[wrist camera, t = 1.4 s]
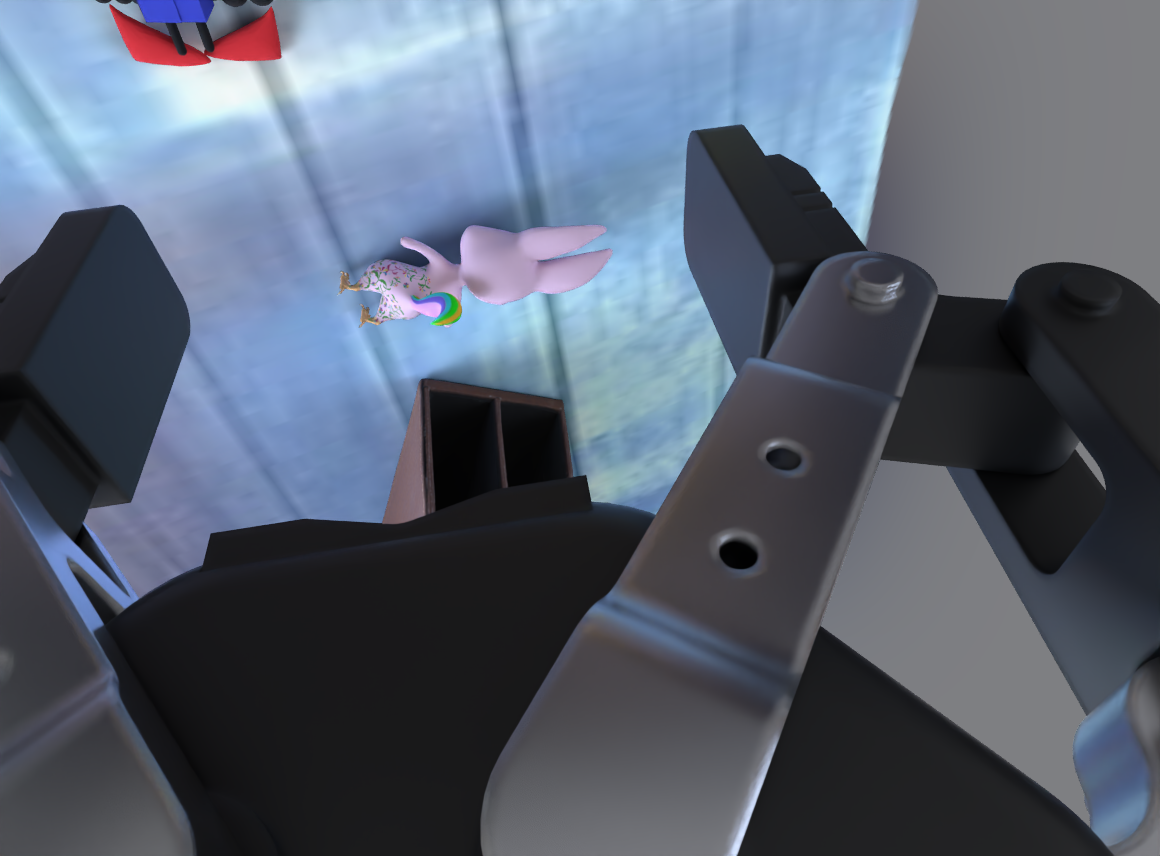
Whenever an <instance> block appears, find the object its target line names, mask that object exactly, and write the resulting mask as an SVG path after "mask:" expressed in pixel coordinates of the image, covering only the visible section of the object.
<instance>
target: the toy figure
mask: <svg viewBox="0 0 1160 856" xmlns="http://www.w3.org/2000/svg"><path fill="white" fill-rule="evenodd" d="M96 1H98V2H100V3H108V2H110V1H111V0H96ZM116 1H118V2H119V3H122V4H128V3H131V2H132V1H133V2H135V3H137V4H139V7H140V9H141V11H142V14H143V16H144V18H145V20H146V22H160V23H166V26H167V28H168V31H169V33H170V35H171V36H168V35H166V34H164V33H162V32H160V31H158V30H155V29H153V28H151V27H149V26H147V25H145V24H143V23H141V22H139V21H137V20H135V19H133V18H131V17H129V16H127V15H125V14H123V13H122V12H120V11H119V10H117V9H116V8H115V7H113V6H112V5H110V4H109V5H110V9H111V12H112V14H113V17H114V19H115V22H116V24H117V26H118V29H119V31H120V33H121V35H122V38H123V40H124V42H125V44H126V46H127V48H128V50H129V51H130V53H131V55H132V56H133V58H134V59H135V60H136V61H140V62H146V63H152V64H162V65H173V66H195V65H203V64H207V63H210V62H211V60H210V59H209V58H208V57H207V56H206V55H208V56H211V57H214V58H220V59H226V60H235V61H261V60H275V59H280V58H281V49H280V41H279V35H278V30H277V25H276V20H275V16H274V12H273V9H272V6H271V7H270V9H269V10H268V11H267V12H266V13H265V14H264V15H263V16H262V17H260V18H258V19H256V20H255V21H253V22H251V23H249V24H247V25H245V26H244V27H242V28H240V29H238V30H236V31H234V32H232V33H229V34H227V35H225V36H223V37H221V38H219V39H217V40H216V41H214V42H213V41H212V38H211V36H210V33H209V30H208V28H207V25H206V22H207V21H208V18H209V16H210V14H211V12H212V9H213V7H214V3H213V1H215V0H116ZM223 1H224V2H225V3H226V4H228V5H230V6H233V7H238V6H242V5H243V4H244V3H245V2H246V0H223ZM251 1H252V2H253V3H255V4H257V5H260V6H266V5H269V4H270V3H271V2H272V1H273V0H251ZM182 22H195V23H196V26H197V28H198V31H199V34H200V36H201V39H202V42H203V44H204V47H205V51H204V53H202V52H201V51H199V50H198V49H196V48H194V47H192V46H190V45H188V44H185V43H184V42H183V40H182V37H181V35H180V32H179V30H178V27H177V25H176V23H182Z"/></svg>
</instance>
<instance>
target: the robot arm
mask: <svg viewBox="0 0 1160 856" xmlns="http://www.w3.org/2000/svg"><path fill="white" fill-rule="evenodd" d="M820 189H821V188H820V187H819V185H818V184H817V183H816V181H815V180H814V179H813V177H812V176H811V175H810V173H809V172H808V171H807V169H805V168H804V167H802V166H800V165H798V164H797V163H795V162H793V161H791V160H789V159H788V158H786V157H784V156H782V155H781V154H776V155H769V156H765V155H764V153H763V152H762V150H761V149H760V148H759V146H758V145H757V143H756V142H755V140H754V139H753V137H752V136H751V135H750V133H749V132H748V130H747V129H746V127H745V126H744V125H742V124H741V125H733V126H725V127H718V128H710V129H703V130H695V131H692V132H691V133H690V135H689V138H688V144H687V159H686V183H685V207H684V244H685V252H686V257H687V261H688V265H689V268H690V270H691V272H692V275H693V277H694V279H695V281H696V284H697V286H698V288H699V291H700V293H701V295H702V297H703V300H704V302H705V304H706V307H707V309H708V311H709V313H710V316H711V318H712V320H713V322H714V325H715V327H716V329H717V332H718V334H719V336H720V338H721V341H722V343H723V345H724V348H725V350H726V352H727V354H728V357H729V359H730V361H731V363H732V366H733V368H734V370H735V373H736V375H737V376H736V378H735V380H734V381H733V383H732V385H731V387H730V388H729V390H728V392H727V394H726V395H725V397H724V399H723V400H722V402H721V404H720V406H719V407H718V409H717V411H716V412H715V414H714V416H713V418H712V419H711V421H710V423H709V425H708V426H707V428H706V430H705V431H704V433H703V435H702V437H701V438H700V440H699V442H698V443H697V445H696V447H695V449H694V450H693V452H692V454H691V456H690V457H689V459H688V461H687V462H686V464H685V466H684V468H683V469H682V471H681V473H680V474H679V476H678V478H677V480H676V481H675V483H674V485H673V487H672V488H671V490H670V492H669V493H668V495H667V497H666V499H665V500H664V502H663V504H662V505H661V507H660V509H659V511H658V512H657V514H656V515H655V514H652V513H650V512H646V511H643V510H639V509H636V508H632V507H628V506H622V505H617V504H611V503H601V502H591V497H590V492H589V487H588V482H587V477H586V475H584V476H577V477H571V478H565V479H558V480H552V481H545V482H539V483H532V484H526V485H520V486H513V487H507V488H500V489H495V490H492V491H490V492H487V493H484V494H481V495H479V496H476V497H473V498H471V499H468V500H465V501H463V502H460V503H457V504H454V505H452V506H449V507H446V508H444V509H441V510H438V511H435V512H433V513H430V514H427V515H425V516H422V517H419V518H417V519H414V520H411V521H408V522H405V523H399V524H383V523H366V522H349V521H332V520H315V519H301V520H294V521H288V522H282V523H275V524H269V525H262V526H256V527H249V528H243V529H237V530H230V531H224V532H217V533H211V535H210V539H209V543H208V547H207V551H206V555H205V559H204V563H203V565H202V566H199V567H197V568H194V569H192V570H190V571H187V572H185V573H183V574H181V575H179V576H177V577H175V578H173V579H171V580H169V581H167V582H165V583H164V584H162V585H160V586H159V587H157V588H155V589H153V590H152V591H150V592H148V593H147V594H145V595H144V596H143V597H141V598H140V599H139V598H138V596H137V595H136V593H135V592H134V590H133V589H132V587H131V586H130V584H129V583H128V581H127V580H126V578H125V577H124V575H123V574H122V572H121V571H120V569H119V568H118V566H117V565H116V563H115V562H114V560H113V559H112V557H111V556H110V555H109V553H108V552H107V550H106V549H105V547H104V546H103V544H102V543H101V541H100V540H99V538H98V537H97V535H96V534H95V533H94V532H93V531H92V530H91V529H90V528H89V527H88V526H87V525H86V524H85V523H84V519H85V517H86V514H87V512H88V509H91V508H97V507H104V506H110V505H117V504H123V503H130V502H131V501H132V498H133V495H134V492H135V490H136V487H137V484H138V481H139V478H140V475H141V473H142V470H143V467H144V464H145V461H146V458H147V456H148V453H149V450H150V447H151V444H152V441H153V438H154V436H155V433H156V430H157V427H158V424H159V421H160V419H161V416H162V413H163V410H164V407H165V404H166V402H167V399H168V396H169V393H170V390H171V387H172V385H173V382H174V379H175V376H176V373H177V370H178V368H179V365H180V362H181V359H182V356H183V353H184V351H185V348H186V345H187V342H188V339H189V336H190V319H189V313H188V309H187V306H186V303H185V301H184V298H183V296H182V294H181V292H180V291H179V289H178V287H177V285H176V283H175V282H174V280H173V278H172V276H171V275H170V273H169V271H168V269H167V268H166V266H165V264H164V262H163V260H162V259H161V257H160V255H159V253H158V252H157V250H156V248H155V246H154V244H153V243H152V241H151V239H150V237H149V236H148V234H147V232H146V230H145V229H144V227H143V225H142V223H141V222H140V220H139V218H138V217H137V216H136V215H135V213H134V212H133V211H132V210H131V209H129V208H128V207H126V206H124V205H116V206H108V207H101V208H93V209H86V210H78V211H70V212H65V213H63V214H62V215H61V216H60V217H59V219H58V220H57V222H56V223H55V225H54V226H53V228H52V229H51V231H50V232H49V234H48V235H47V237H46V238H45V240H44V241H43V243H42V244H41V246H40V247H39V249H38V250H37V252H36V253H35V254H34V255H32V256H31V257H30V258H28V259H27V260H26V261H25V262H23V263H22V264H21V265H20V266H18V267H17V268H16V269H14V270H13V271H12V272H11V273H9V274H8V275H7V276H6V277H5V278H4V280H3V281H2V283H1V284H0V856H1160V304H1159V303H1158V302H1157V301H1156V300H1154V298H1152V297H1151V296H1150V295H1149V294H1148V293H1147V292H1146V291H1145V290H1143V288H1141V287H1140V286H1139V285H1137V284H1136V283H1134V282H1133V281H1131V280H1129V279H1127V278H1125V277H1123V276H1121V275H1119V274H1117V273H1114V272H1112V271H1109V270H1106V269H1103V268H1099V267H1095V266H1091V265H1086V264H1079V263H1069V262H1058V263H1057V262H1056V263H1047V264H1041V265H1038V266H1034V267H1032V268H1030V269H1028V270H1026V271H1024V272H1023V273H1022V274H1021V275H1020V276H1019V277H1018V279H1017V280H1016V283H1015V285H1014V287H1013V289H1012V292H1011V294H1010V296H1009V298H1008V300H1000V299H984V298H970V297H953V296H945V295H939V294H938V289H937V286H936V283H935V281H934V280H933V279H932V277H931V276H930V275H929V274H928V273H927V272H926V271H925V270H924V269H922V268H921V267H919V266H918V265H916V264H914V263H912V262H910V261H908V260H906V259H903V258H901V257H898V256H894V255H890V254H886V253H880V252H870V251H868V250H867V249H866V247H865V246H864V245H863V243H862V242H861V241H860V239H859V238H858V237H857V235H856V234H855V233H854V231H853V230H852V229H851V227H850V226H849V225H848V223H847V222H846V221H845V220H844V218H843V217H842V216H841V214H840V213H839V212H838V210H837V209H836V208H832V202H831V201H830V200H829V198H828V197H827V196H826V194H825V193H824V192H821V191H820ZM1079 441H1081V443H1082V444H1083V445H1084V447H1085V448H1086V449H1087V450H1088V452H1089V453H1090V455H1091V456H1092V457H1093V458H1094V460H1095V461H1096V463H1097V464H1098V466H1099V467H1100V469H1101V472H1102V474H1103V477H1104V479H1105V485H1106V490H1105V489H1104V487H1103V486H1102V485H1101V483H1100V482H1099V481H1098V480H1097V478H1096V477H1095V475H1094V474H1093V473H1092V471H1091V470H1090V469H1089V467H1088V466H1087V464H1086V463H1085V462H1084V460H1083V459H1082V458H1081V457H1080V455H1079V454H1078V452H1077V451H1076V450H1075V448H1076V446H1077V445H1078V443H1079ZM880 459H882V460H890V461H900V462H909V463H919V464H928V465H938V466H946V468H947V470H948V471H949V473H950V475H951V477H952V478H953V480H954V482H955V484H956V486H957V487H958V489H959V491H960V493H961V494H962V496H963V498H964V500H965V501H966V503H967V505H968V507H969V508H970V510H971V512H972V514H973V515H974V517H975V519H976V521H977V523H978V524H979V526H980V528H981V530H982V532H983V533H984V535H985V537H986V539H987V540H988V542H989V544H990V546H991V547H992V549H993V551H994V553H995V554H996V556H997V558H998V560H999V562H1000V563H1001V565H1002V567H1003V569H1004V570H1005V572H1006V574H1007V576H1008V578H1009V579H1010V581H1011V583H1012V585H1013V586H1014V588H1015V590H1016V592H1017V594H1018V595H1019V597H1020V599H1021V601H1022V602H1023V604H1024V606H1025V608H1026V609H1027V611H1028V613H1029V615H1030V616H1031V618H1032V620H1033V622H1034V624H1035V625H1036V627H1037V629H1038V631H1039V632H1040V634H1041V636H1042V638H1043V640H1044V641H1045V643H1046V644H1047V647H1048V648H1049V650H1050V652H1051V653H1052V655H1053V657H1054V659H1055V661H1056V663H1057V664H1058V666H1059V668H1060V670H1061V671H1062V673H1063V675H1064V677H1065V678H1066V680H1067V682H1068V684H1069V685H1070V687H1071V689H1072V691H1073V692H1074V694H1075V696H1076V698H1077V700H1078V701H1079V703H1080V705H1081V707H1082V709H1083V710H1084V712H1085V714H1086V717H1085V719H1084V720H1083V721H1082V722H1081V724H1080V725H1079V727H1078V729H1077V731H1076V734H1075V737H1074V742H1073V760H1074V765H1075V770H1076V773H1077V776H1078V778H1079V781H1080V784H1081V786H1082V789H1083V792H1084V794H1085V795H1084V798H1085V805H1086V808H1087V811H1088V813H1089V815H1090V827H1089V826H1087V824H1086V823H1084V822H1083V821H1082V820H1081V819H1080V818H1079V817H1078V816H1077V815H1076V814H1075V813H1074V812H1073V811H1072V810H1070V809H1069V808H1068V807H1067V806H1066V805H1065V804H1063V803H1062V802H1061V801H1060V800H1059V799H1057V798H1056V797H1055V796H1053V795H1052V794H1051V793H1049V792H1048V791H1047V790H1046V789H1044V788H1043V787H1041V786H1040V785H1039V784H1038V783H1036V782H1035V781H1033V780H1032V779H1031V778H1029V777H1028V776H1026V775H1025V774H1024V773H1022V772H1021V771H1020V770H1018V769H1017V768H1016V767H1014V766H1013V765H1011V764H1010V763H1009V762H1007V761H1006V760H1004V759H1003V758H1002V757H1000V756H999V755H998V754H996V753H995V752H994V751H992V750H991V749H989V748H988V747H987V746H985V745H984V744H982V743H981V742H980V741H978V740H977V739H976V738H974V737H973V736H971V735H970V734H969V733H967V732H966V731H965V730H963V729H962V728H960V727H959V726H957V725H956V724H955V723H954V722H952V721H951V720H949V719H948V718H947V717H945V716H944V715H943V714H941V713H940V712H938V711H937V710H936V709H934V708H933V707H932V706H930V705H929V704H927V703H926V702H925V701H923V700H922V699H921V698H919V697H918V696H916V695H915V694H914V693H912V692H911V691H909V690H908V689H907V688H905V687H904V686H902V685H901V684H900V683H898V682H897V681H896V680H894V679H893V678H892V677H890V676H889V675H887V674H886V673H885V672H883V671H882V670H881V669H879V668H878V667H876V666H875V665H874V664H872V663H871V662H869V661H868V660H867V659H865V658H864V657H863V656H861V655H860V654H858V653H857V652H856V651H854V650H853V649H852V648H850V647H849V646H847V645H846V644H845V643H843V642H842V641H841V640H839V639H838V638H836V637H835V636H834V635H832V634H831V633H829V632H828V631H827V630H825V629H824V628H823V627H821V623H822V621H823V618H824V615H825V612H826V609H827V607H828V604H829V601H830V598H831V595H832V593H833V590H834V587H835V584H836V582H837V579H838V576H839V573H840V570H841V568H842V565H843V562H844V559H845V556H846V554H847V551H848V548H849V545H850V542H851V540H852V537H853V534H854V531H855V528H856V526H857V523H858V520H859V517H860V515H861V512H862V509H863V506H864V503H865V501H866V498H867V495H868V492H869V489H870V487H871V484H872V481H873V478H874V475H875V473H876V470H877V467H878V464H879V462H880Z"/></svg>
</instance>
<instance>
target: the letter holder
mask: <svg viewBox="0 0 1160 856" xmlns="http://www.w3.org/2000/svg"><path fill="white" fill-rule="evenodd" d="M571 477H573V468H572V462H571V455H570V447H569V440H568V432H567V425H566V419H565V412H564V403H563V401H562V400H556V399H550V398H544V397H538V396H532V395H526V394H519V393H513V392H507V391H501V390H494V389H488V388H482V387H476V386H471V385H464V384H459V383H452V382H445V381H438V380H432V379H421V380H420V382H419V385H418V388H417V393H416V398H415V402H414V405H413V409H412V413H411V417H410V421H409V425H408V429H407V432H406V436H405V440H404V444H403V447H402V451H401V454H400V458H399V462H398V465H397V468H396V473H395V476H394V480H393V484H392V488H391V492H390V496H389V499H388V503H387V507H386V511H385V515H384V518H383V521H382V523H383V524H399V523H405V522H408V521H411V520H414V519H417V518H419V517H422V516H425V515H427V514H430V513H433V512H435V511H438V510H441V509H444V508H446V507H449V506H452V505H454V504H457V503H460V502H463V501H465V500H468V499H471V498H473V497H476V496H479V495H481V494H484V493H487V492H490V491H492V490H495V489H500V488H507V487H513V486H520V485H526V484H532V483H539V482H545V481H552V480H558V479H565V478H571Z"/></svg>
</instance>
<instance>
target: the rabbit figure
mask: <svg viewBox="0 0 1160 856" xmlns="http://www.w3.org/2000/svg"><path fill="white" fill-rule="evenodd" d="M606 231H607V229H606V227H604V226H602V225H581V226H559V227H535V228H530V229H526V230H524V231H522V232H520V233H511V232H508V231H505V230H500V229H495V228H490V227H483V226H478V225H471V226H469V227H468V228H466V230H465V231H464V233H463V235H462V238H461V242H460V250H461V263H460V264H453V263H451V262H449V261H448V260H446V259H445V258H444V257H443V256H442V255H441V254H439V253H438V252H436V251H435V250H433V249H432V248H430V247H429V246H427V245H425V244H423V243H421V242H419V241H416V240H414V239H412V238H409V237H402V238H401V244H402V245H403V246H404V247H406V248H409V249H413V250H416V251H418V252H420V253H422V254H423V255H424V256H425V257H426V258H427V259H428V260H429V262H430V263H429V264H427V265H426V266H423V267H416V266H413V265H409V264H406V263H402V262H398V261H395V260H389V259H384V260H379V261H376V262H374V263H372V264H371V265H370V266H369V267H368V268H367V270H366V271H365V273H364V274H363V276H362V277H361V278H360V280H359V281H358V282H357V283H356V284H355V285H350V282H349V281H348V280H349V275H348V273H346V272H345V273H346V275H347V276H345V275H344V274H345V273H344V272H343V271H341V272H340V273H343V274H342V275H341V284H340V289H341V291H340V292H339V293H338V294H341V293H342V292H343V291H344V289H351V290H354V291H360V290H368V291H373V292H378V293H381V294H383V295H382V297H381V300H380V305H379V309H378V312H377V314H376V316H375V317H373V318H370V315H368V314H369V308H368V307H366V308H367V309H365V308H364V306H363V305H362V304H360V305H361V306H362V307H363V309H362V314H361V319H360V321H361V322H362V324H361V325H360V326H359V327H362V325H363V324H364V323H365V322H370V323H373V324H375V325H379V324H381V323H382V322H384V321H387V320H393V319H405V320H409V319H413V318H415V317H417V316H419V315H420V314H421V313H422V314H424V315H427V316H431V317H437V318H436V319H435V320H434V321H433V322H432V323H430V324H432V325H438V326H441V325H444V326H445V327H447V328H448V327H450V326H451V325H452V324H453V323H455V322H456V321H458V320H459V319H460V317H461V314H462V306H461V296H462V295H461V291H462V287H463V286H465V285H466V286H467V287H468V289H469V290H470V291H471V293H472V294H473V295H474V296H475V297H477V298H478V299H480V300H481V301H484V302H486V303H490V304H497V305H503V304H506V303H508V302H512V301H516V300H519V299H521V298H523V297H525V296H527V295H529V294H531V293H533V292H543V293H548V294H555V293H562V292H566V291H570V290H573V289H575V288H578V287H580V286H582V285H584V284H586V283H587V282H589V281H590V280H591V279H592V278H594V277H595V276H596V275H597V274H598V273H599V272H600V270H601V269H602V268H603V267H604V266H605V264H606V263H607V262H608V260H609V259H610V257H611V255H612V249H605V250H601V251H595V252H589V253H584V254H579V255H574V256H569V257H563V258H558V259H553V260H548V261H539V260H546V259H550V258H553V257H556V256H559V255H562V254H565V253H568V252H572V251H574V250H577V249H579V248H581V247H583V246H584V245H586V244H587V243H589V242H590V241H592V240H593V239H595V238H597V237H598V236H600V235H602V234H603V233H605V232H606ZM338 294H337V295H338ZM359 327H358V328H359Z"/></svg>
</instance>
